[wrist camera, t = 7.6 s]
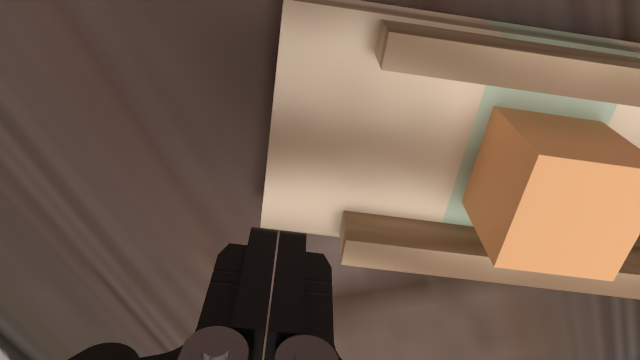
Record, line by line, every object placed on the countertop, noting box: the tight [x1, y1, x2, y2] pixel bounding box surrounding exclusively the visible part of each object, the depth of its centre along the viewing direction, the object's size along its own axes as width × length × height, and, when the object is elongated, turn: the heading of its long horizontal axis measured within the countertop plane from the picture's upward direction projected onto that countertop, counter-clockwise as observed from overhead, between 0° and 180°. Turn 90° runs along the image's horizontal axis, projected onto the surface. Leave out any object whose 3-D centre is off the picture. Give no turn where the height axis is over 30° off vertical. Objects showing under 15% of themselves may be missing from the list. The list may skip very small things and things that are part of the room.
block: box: [462, 106, 640, 281], centre depth 20 cm, size 5×5×5 cm
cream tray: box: [260, 0, 640, 299], centre depth 22 cm, size 11×23×6 cm, turn 82°
